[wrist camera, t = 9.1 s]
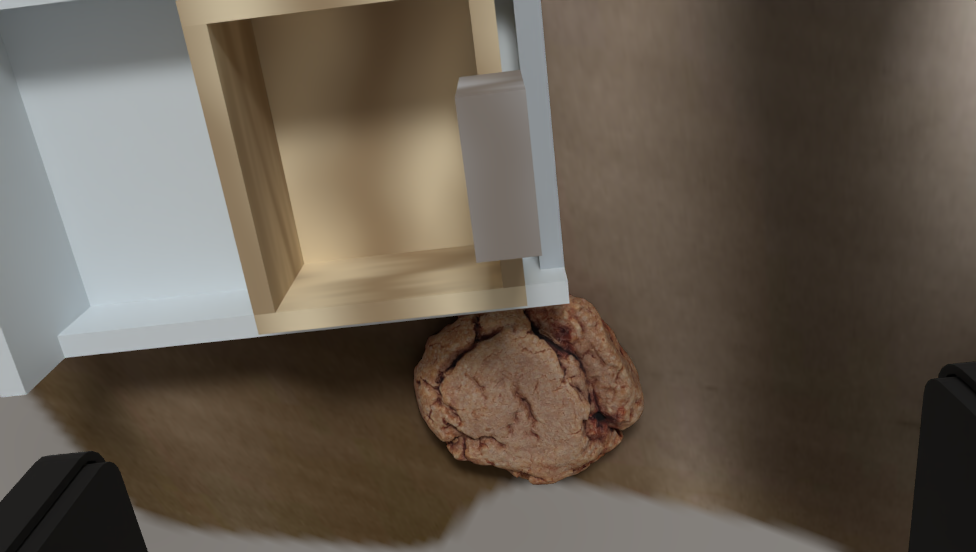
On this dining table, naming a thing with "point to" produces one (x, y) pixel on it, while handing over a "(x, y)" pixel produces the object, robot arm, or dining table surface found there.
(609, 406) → the cookie
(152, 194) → the bay
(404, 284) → the drawer
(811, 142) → the dining table surface
